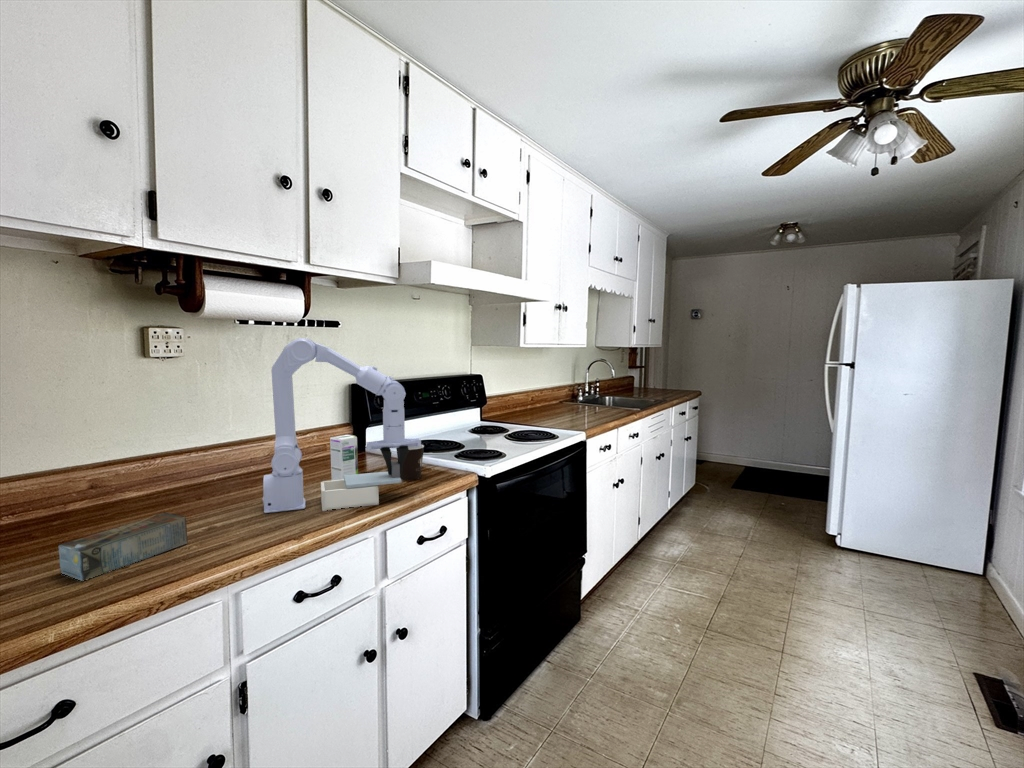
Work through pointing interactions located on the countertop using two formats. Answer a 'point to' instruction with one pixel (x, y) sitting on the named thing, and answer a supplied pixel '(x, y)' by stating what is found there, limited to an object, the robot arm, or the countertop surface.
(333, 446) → the syrup box
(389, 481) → the carton lid
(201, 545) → the countertop surface
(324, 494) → the carton
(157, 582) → the countertop surface
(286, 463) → the robot arm
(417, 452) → the coffee mug
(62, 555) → the beverage carton
